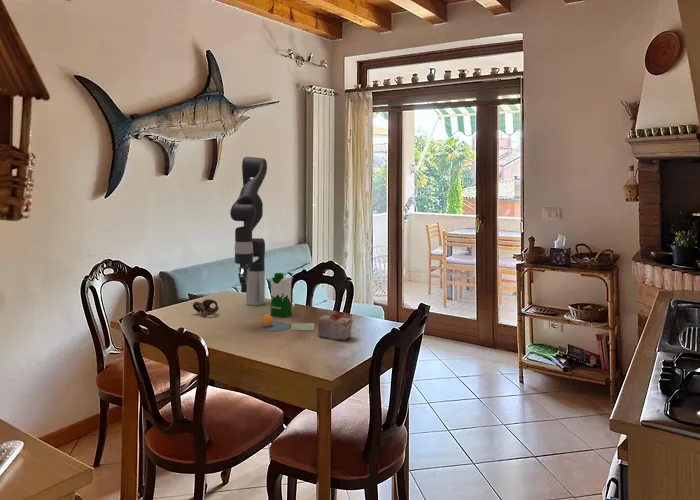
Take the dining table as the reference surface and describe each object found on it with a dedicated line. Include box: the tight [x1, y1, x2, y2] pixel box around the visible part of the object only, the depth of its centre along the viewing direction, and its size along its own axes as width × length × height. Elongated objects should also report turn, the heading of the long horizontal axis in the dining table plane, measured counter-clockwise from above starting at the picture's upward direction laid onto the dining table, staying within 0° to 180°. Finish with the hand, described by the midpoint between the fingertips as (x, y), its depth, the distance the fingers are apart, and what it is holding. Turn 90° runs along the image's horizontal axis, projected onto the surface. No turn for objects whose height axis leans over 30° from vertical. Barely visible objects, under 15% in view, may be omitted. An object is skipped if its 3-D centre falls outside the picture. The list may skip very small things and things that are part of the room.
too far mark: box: [289, 322, 316, 331], centre depth 222 cm, size 10×10×1 cm
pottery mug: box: [192, 298, 220, 318], centre depth 237 cm, size 12×10×8 cm
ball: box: [259, 313, 274, 327], centre depth 220 cm, size 6×6×6 cm
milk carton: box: [269, 272, 293, 319], centre depth 239 cm, size 9×9×20 cm
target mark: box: [258, 321, 291, 332], centre depth 221 cm, size 13×13×1 cm
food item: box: [317, 313, 353, 341], centre depth 207 cm, size 14×8×10 cm, turn 69°
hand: (244, 292), depth 219 cm, fingers closed
